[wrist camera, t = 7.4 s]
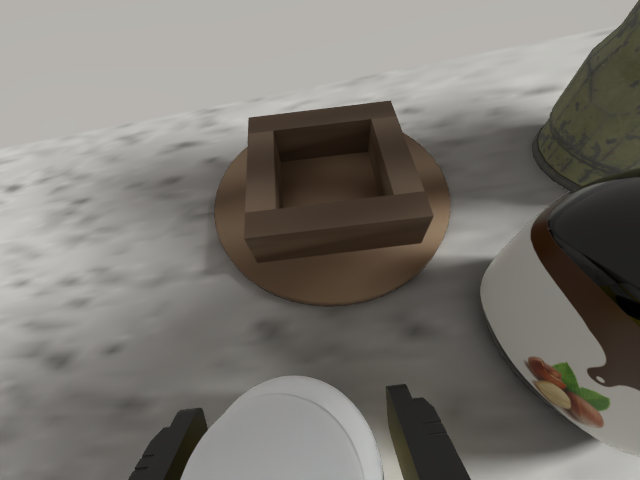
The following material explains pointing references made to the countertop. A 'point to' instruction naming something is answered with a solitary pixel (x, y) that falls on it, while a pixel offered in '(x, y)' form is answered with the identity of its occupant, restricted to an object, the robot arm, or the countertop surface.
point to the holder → (332, 205)
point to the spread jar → (576, 307)
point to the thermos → (597, 114)
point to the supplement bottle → (288, 436)
